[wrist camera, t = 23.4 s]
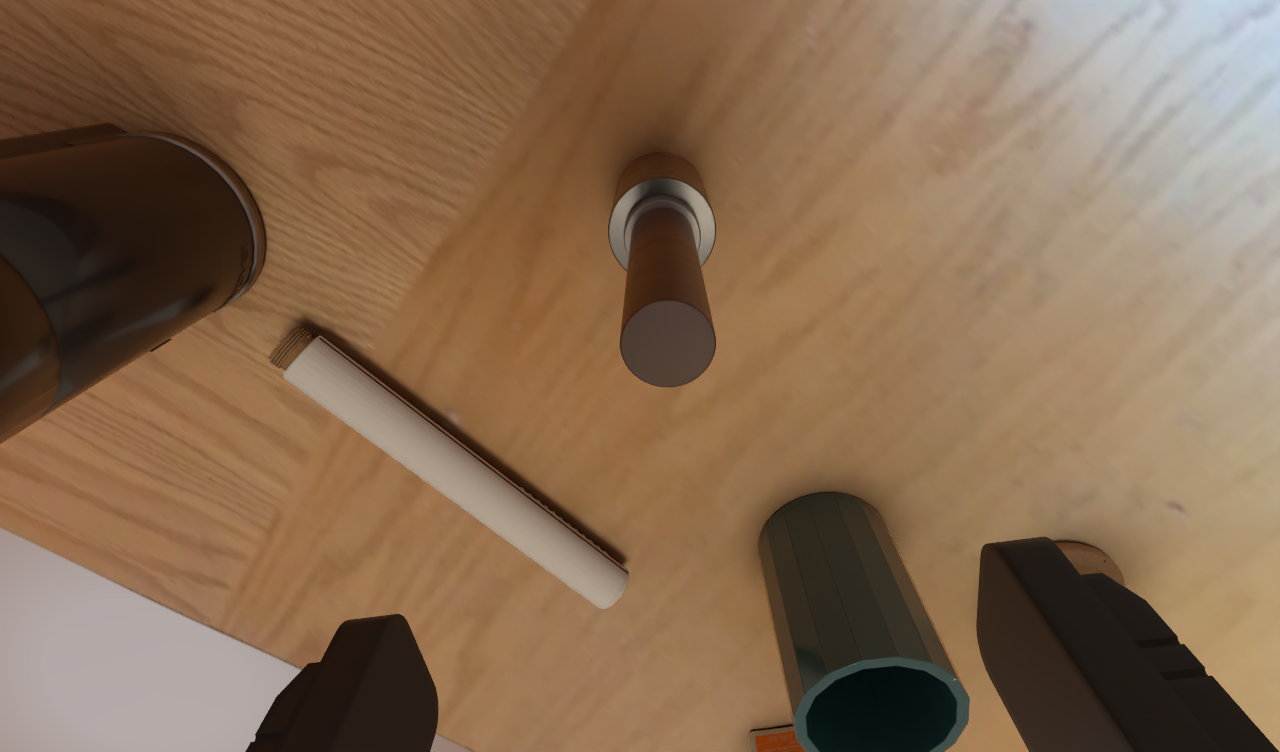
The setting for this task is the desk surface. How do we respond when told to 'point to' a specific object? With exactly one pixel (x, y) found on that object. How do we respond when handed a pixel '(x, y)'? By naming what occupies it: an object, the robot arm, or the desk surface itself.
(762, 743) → the cosmetic box
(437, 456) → the tube
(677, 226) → the brush
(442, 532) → the desk surface
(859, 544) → the teal pencil cup
